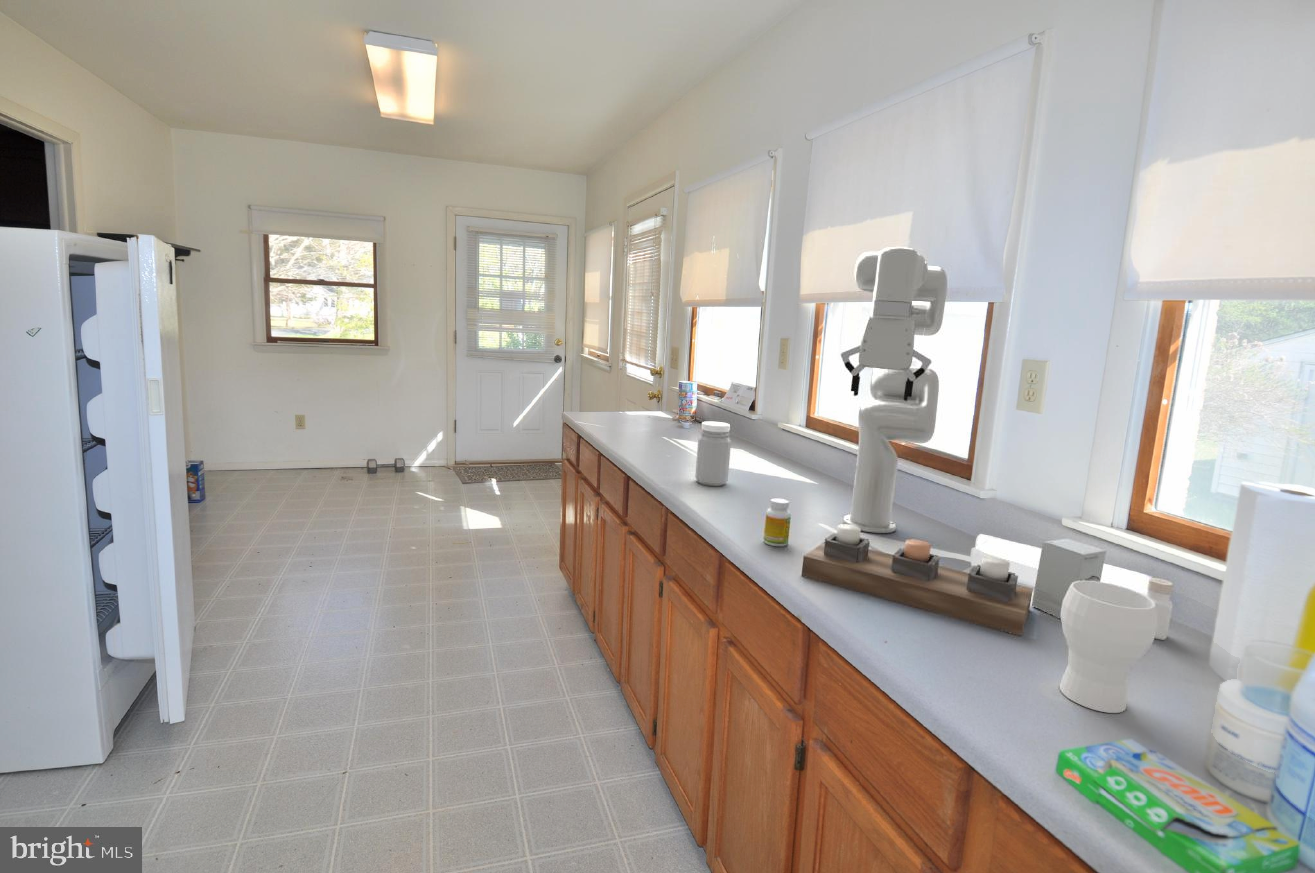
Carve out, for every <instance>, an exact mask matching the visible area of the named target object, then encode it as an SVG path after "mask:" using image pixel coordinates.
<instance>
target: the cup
mask: <svg viewBox="0 0 1315 873" xmlns="http://www.w3.org/2000/svg"><path fill="white" fill-rule="evenodd" d="M1145 595H1146V594H1143V593H1141V592H1138V591H1136V590H1133V589H1130V588H1129V587H1124V586H1122V585H1117V584H1113V583H1108V582H1104V581H1100V582H1097V581H1076V582H1073V583H1072V584H1071V585H1070V587H1069V589H1068V591H1067V593H1066V595H1065V597H1064V599H1063V603H1062V608H1061V619H1060V620H1061V627H1062V628H1061V629H1062V633H1063V636H1064V638H1065V641H1066V644H1067V646H1068V654H1067V655H1068V656H1067V658H1068V659H1067V660H1068V661H1067V664H1068V665H1067V666H1066V668H1065V670H1064V673H1063V675H1062V677H1061V681H1060V684H1059V690H1060V692H1061V693H1062V695H1064V696H1065V697H1066V698H1068V699H1069V700H1070V701H1072V702H1074V703H1077V704H1078V705H1080V706H1082V707H1085V708H1088V709H1090V710H1094V711H1096V712H1097V711H1098V712H1102V713H1103V712H1104V713H1107V714H1109V713H1110V714H1118V713H1119V714H1120V713H1123V712H1124V711H1126V708H1127V703H1128V702H1127V700H1128V699H1127V698H1128V697H1127V696H1128V695H1127V694H1128V693H1127V690H1128V688H1127V687H1128V686H1127V683H1128V682H1127V681H1128V679H1129V677H1130V673H1131V670H1132V668H1133V666H1135V665H1136V664H1137V663H1138V662H1139V661H1140V660H1141V659H1142V658H1143V657H1144V656H1145V655H1146V653H1147V652H1148V650H1149V649H1150V647H1151V645H1152V644H1153V643H1154V640H1155V638H1154V637H1155V633H1156V628H1157V613H1156V604H1155V603H1154V601H1153V600H1151V599H1150V598H1149V597H1147V596H1145Z"/></svg>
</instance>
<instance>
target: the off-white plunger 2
mask: <svg viewBox="0 0 1315 873" xmlns="http://www.w3.org/2000/svg"><path fill="white" fill-rule="evenodd" d="M980 562H981V563H980V565H981V567H980V573H979V575H980V576H983V577H987V578H991V579H995V580H999V581H1003V582H1006V581H1007V578H1008V572H1010V564H1011V563H1010V562H1009V561H1008V560H1006V559H1003V558H1001V557H995V556H982V558H981V561H980Z"/></svg>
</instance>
